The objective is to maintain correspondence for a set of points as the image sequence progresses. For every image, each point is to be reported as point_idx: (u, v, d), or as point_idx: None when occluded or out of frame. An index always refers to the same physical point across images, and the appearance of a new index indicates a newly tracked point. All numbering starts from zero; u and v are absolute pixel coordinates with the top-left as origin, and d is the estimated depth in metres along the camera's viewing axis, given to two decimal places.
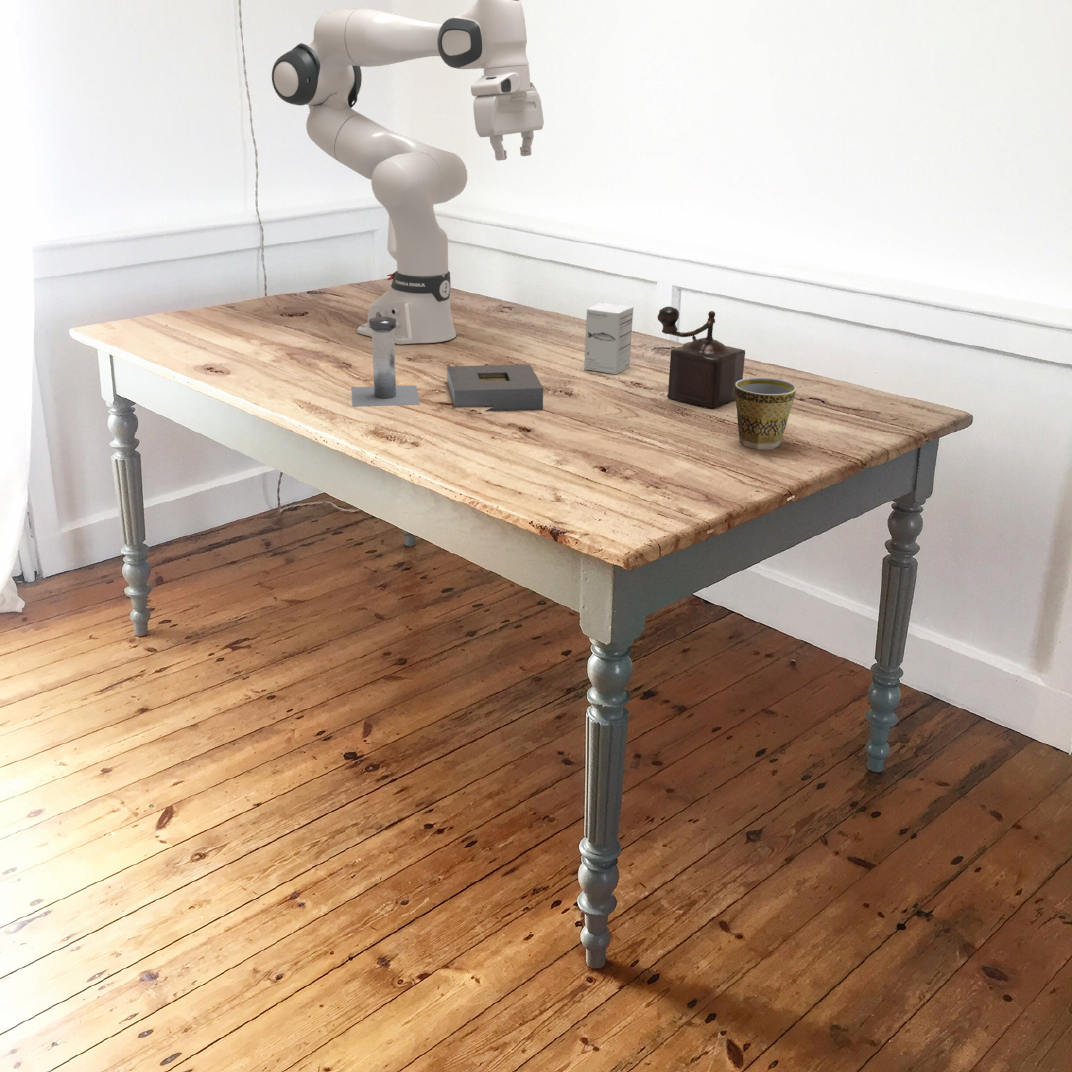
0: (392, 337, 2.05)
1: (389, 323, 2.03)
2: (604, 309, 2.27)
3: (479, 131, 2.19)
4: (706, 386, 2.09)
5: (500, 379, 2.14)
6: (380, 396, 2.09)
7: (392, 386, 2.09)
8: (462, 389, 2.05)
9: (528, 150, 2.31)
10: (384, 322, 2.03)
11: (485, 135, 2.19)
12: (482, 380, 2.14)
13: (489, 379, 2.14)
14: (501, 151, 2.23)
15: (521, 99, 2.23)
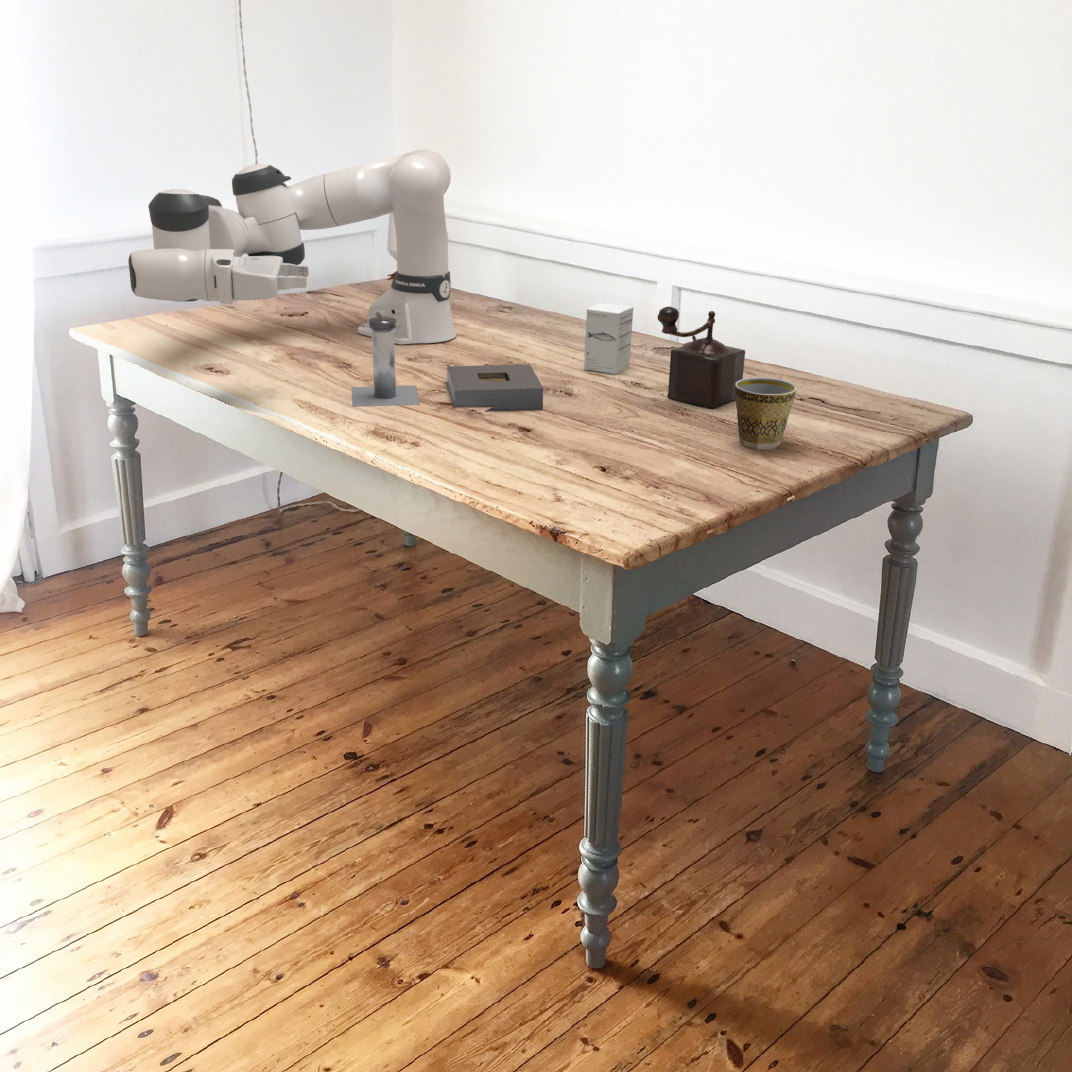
0: (392, 337, 2.05)
1: (389, 323, 2.03)
2: (604, 309, 2.27)
3: (270, 293, 1.90)
4: (705, 385, 2.09)
5: (500, 379, 2.14)
6: (380, 396, 2.09)
7: (392, 386, 2.09)
8: (462, 389, 2.05)
9: (302, 266, 2.03)
10: (384, 322, 2.03)
11: (275, 286, 1.91)
12: (482, 380, 2.14)
13: (489, 379, 2.14)
14: (296, 278, 1.95)
15: (243, 257, 1.97)
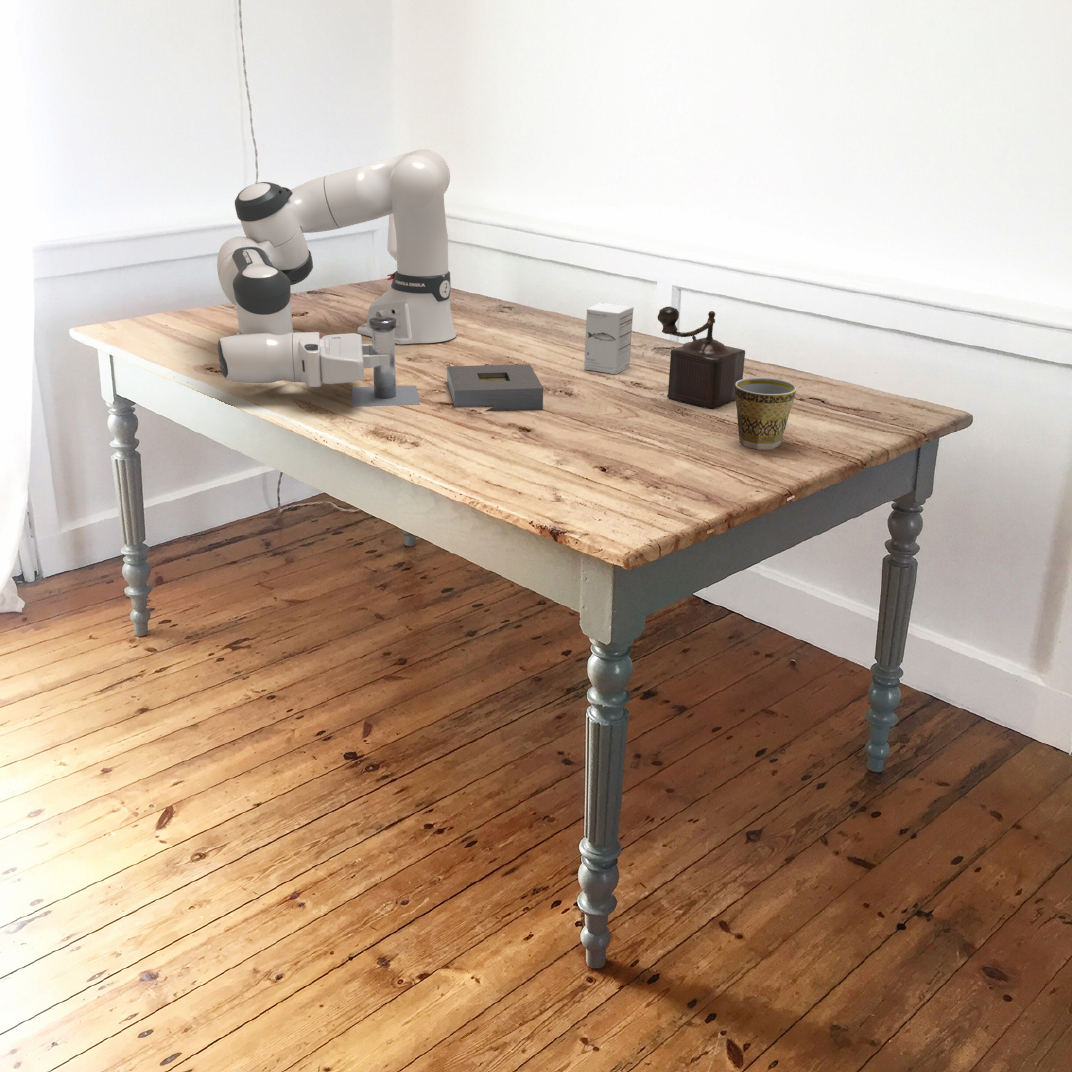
0: (392, 337, 2.05)
1: (389, 323, 2.03)
2: (604, 309, 2.27)
3: (357, 376, 1.98)
4: (705, 386, 2.09)
5: (500, 379, 2.14)
6: (380, 396, 2.09)
7: (392, 386, 2.09)
8: (462, 389, 2.05)
9: None
10: (384, 322, 2.03)
11: (362, 370, 1.98)
12: (482, 380, 2.14)
13: (489, 379, 2.14)
14: (380, 356, 2.04)
15: (327, 340, 2.04)
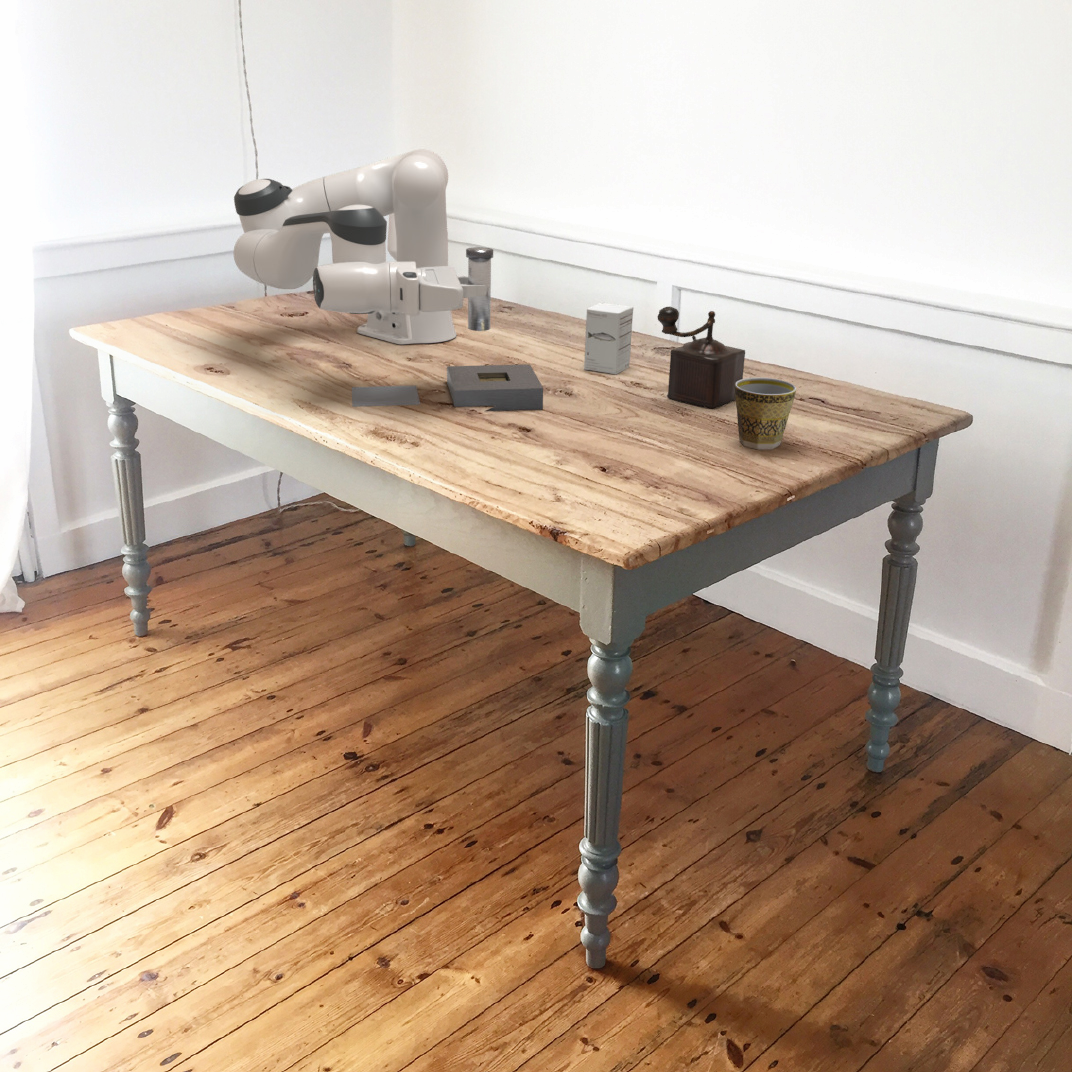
0: (489, 267, 2.02)
1: (487, 252, 2.00)
2: (604, 309, 2.27)
3: (457, 304, 1.95)
4: (705, 386, 2.09)
5: (500, 379, 2.14)
6: (475, 328, 2.06)
7: (487, 318, 2.06)
8: (462, 389, 2.05)
9: None
10: (482, 251, 2.00)
11: (461, 298, 1.95)
12: (482, 380, 2.14)
13: (489, 379, 2.14)
14: (477, 286, 2.01)
15: (424, 269, 2.02)
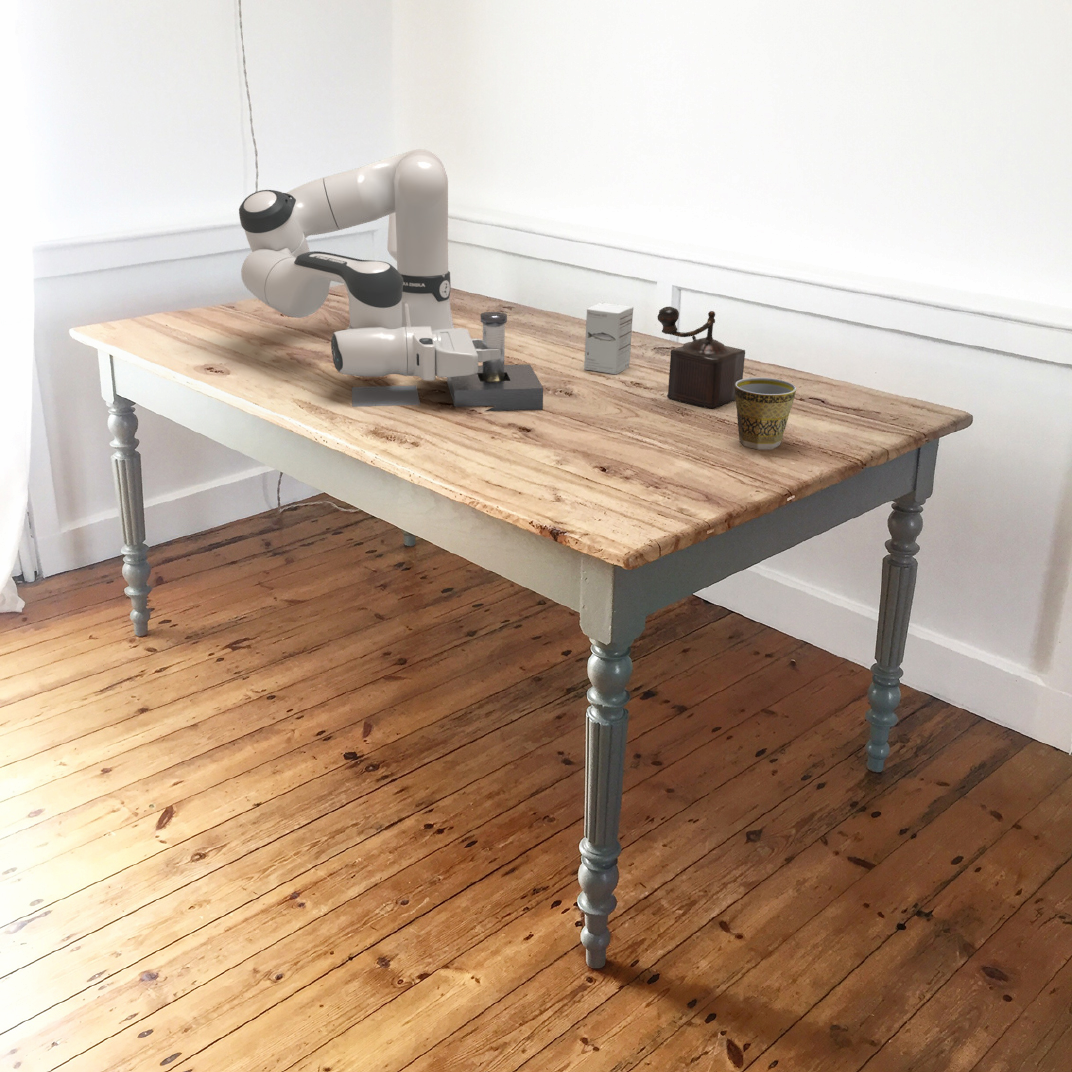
0: (503, 332, 2.08)
1: (501, 318, 2.06)
2: (604, 309, 2.27)
3: (472, 370, 2.01)
4: (705, 386, 2.09)
5: None
6: None
7: (501, 380, 2.11)
8: (462, 389, 2.05)
9: None
10: (496, 317, 2.06)
11: (476, 364, 2.01)
12: None
13: None
14: (491, 351, 2.07)
15: (439, 334, 2.07)
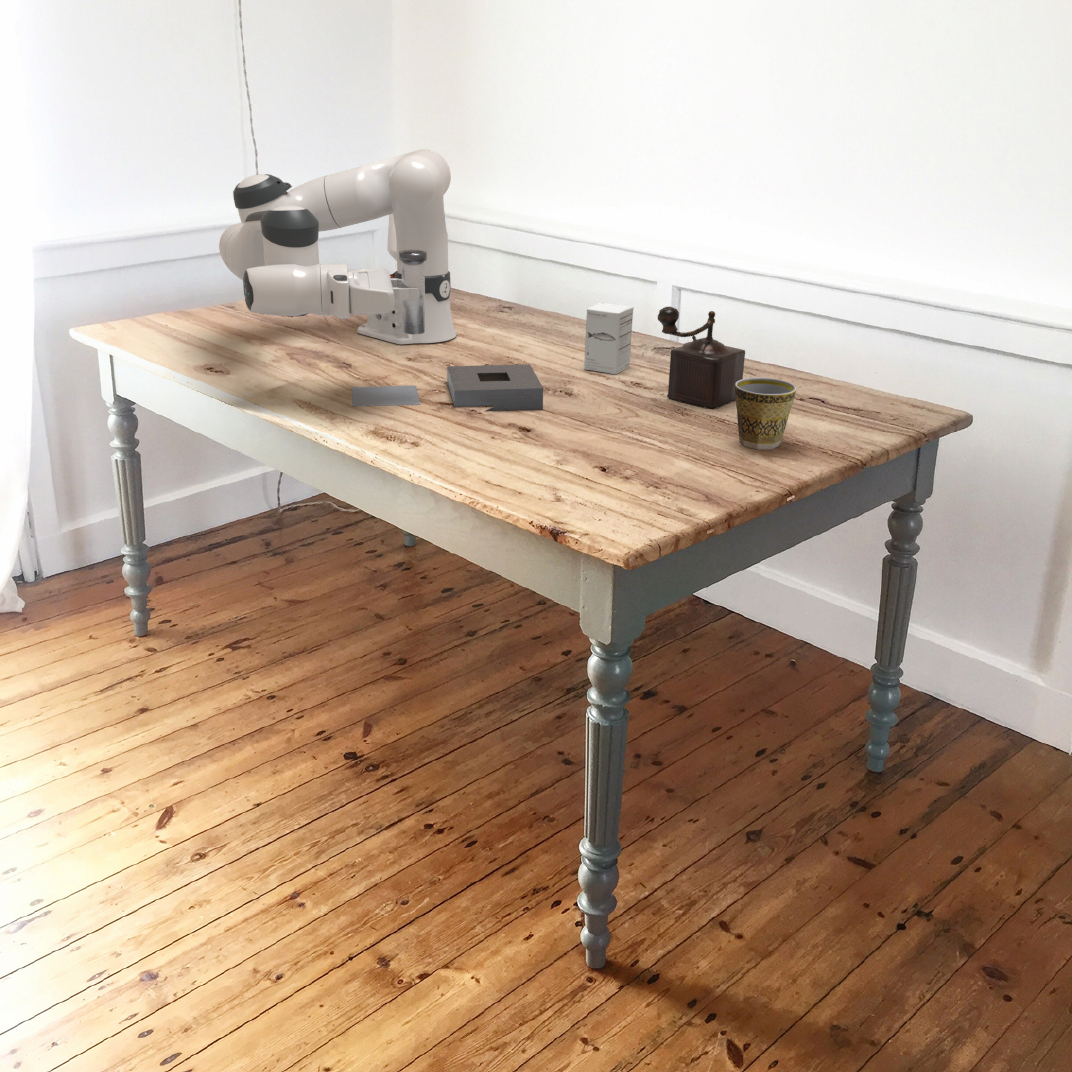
0: (422, 270, 2.00)
1: (420, 255, 1.98)
2: (604, 309, 2.27)
3: (388, 308, 1.93)
4: (705, 386, 2.09)
5: None
6: (409, 331, 2.04)
7: (421, 322, 2.04)
8: (462, 389, 2.05)
9: None
10: (415, 254, 1.98)
11: (392, 301, 1.93)
12: None
13: None
14: (409, 289, 1.99)
15: (355, 272, 1.99)
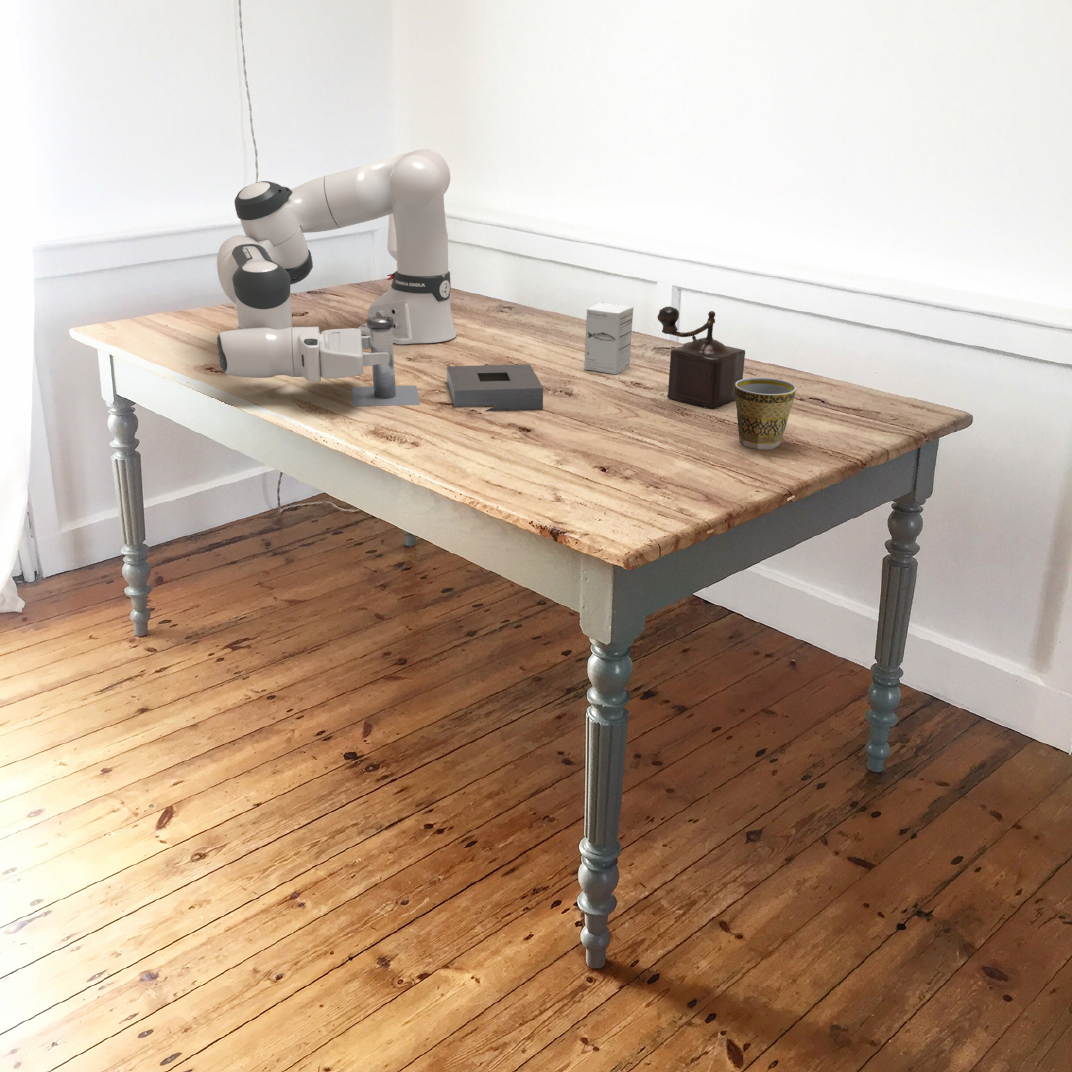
0: (390, 336, 2.05)
1: (386, 322, 2.03)
2: (604, 309, 2.27)
3: (357, 371, 1.98)
4: (705, 385, 2.09)
5: None
6: (380, 396, 2.09)
7: (391, 386, 2.09)
8: (462, 389, 2.05)
9: None
10: (381, 321, 2.03)
11: (361, 364, 1.98)
12: None
13: None
14: (380, 354, 2.02)
15: (327, 335, 2.04)
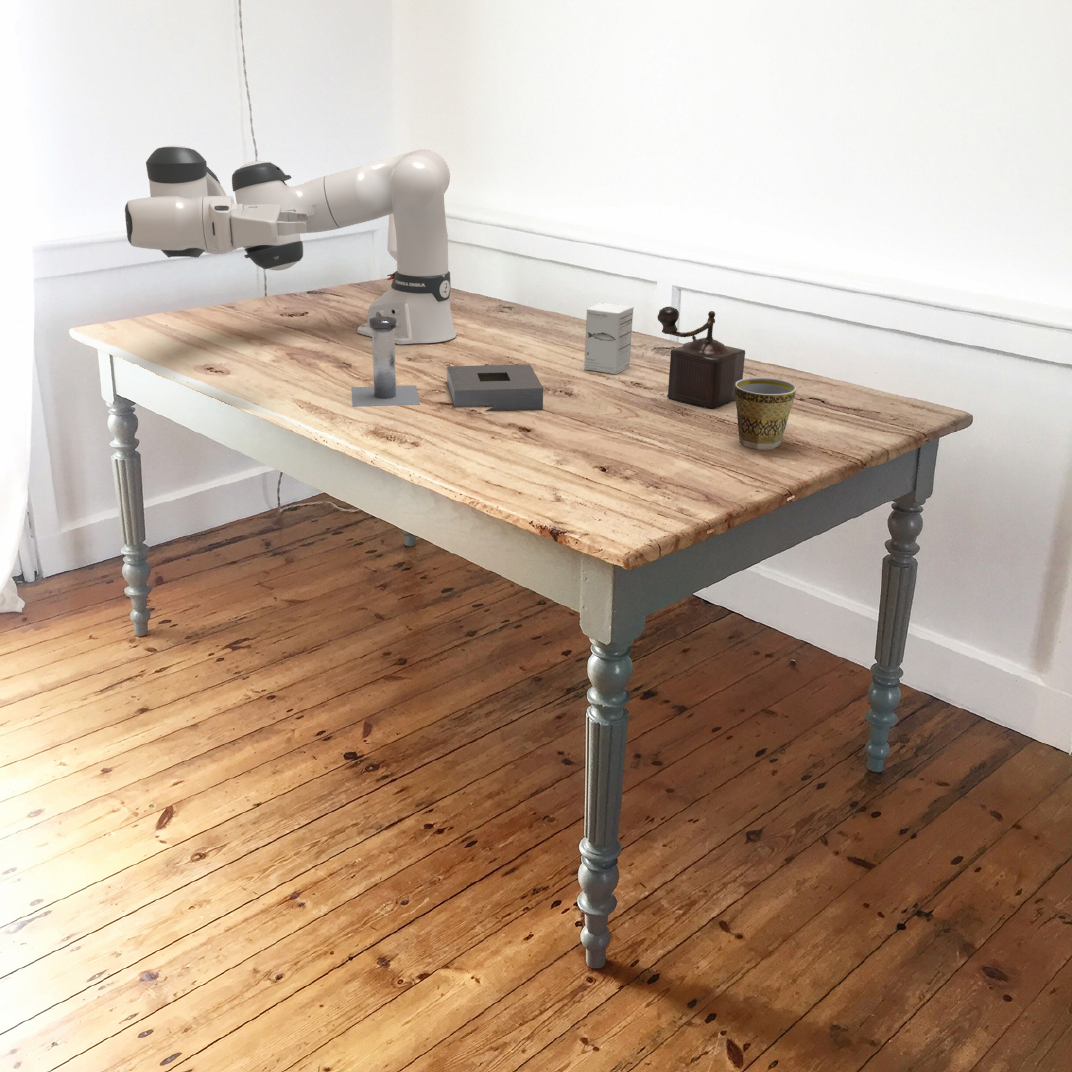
0: (392, 337, 2.05)
1: (389, 323, 2.03)
2: (604, 309, 2.27)
3: (270, 238, 1.87)
4: (705, 386, 2.09)
5: None
6: (380, 396, 2.09)
7: (392, 386, 2.09)
8: (462, 389, 2.05)
9: (301, 213, 2.00)
10: (384, 322, 2.03)
11: (274, 231, 1.87)
12: None
13: None
14: (296, 223, 1.91)
15: (241, 204, 1.93)
